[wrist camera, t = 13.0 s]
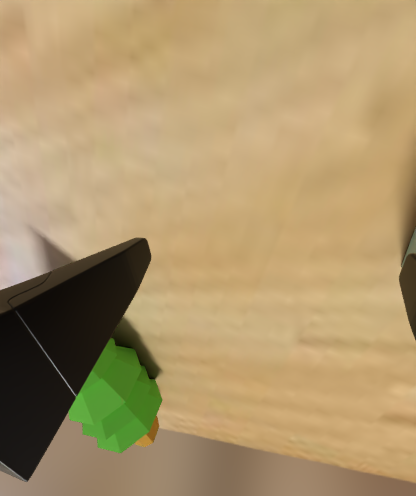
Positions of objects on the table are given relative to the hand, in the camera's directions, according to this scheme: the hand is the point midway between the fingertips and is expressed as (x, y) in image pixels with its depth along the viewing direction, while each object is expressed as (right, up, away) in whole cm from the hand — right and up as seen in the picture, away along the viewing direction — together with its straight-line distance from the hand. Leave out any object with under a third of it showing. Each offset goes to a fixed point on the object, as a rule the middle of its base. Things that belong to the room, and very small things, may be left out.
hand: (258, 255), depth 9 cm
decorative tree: (-15, -15, +30) cm, 37 cm away
